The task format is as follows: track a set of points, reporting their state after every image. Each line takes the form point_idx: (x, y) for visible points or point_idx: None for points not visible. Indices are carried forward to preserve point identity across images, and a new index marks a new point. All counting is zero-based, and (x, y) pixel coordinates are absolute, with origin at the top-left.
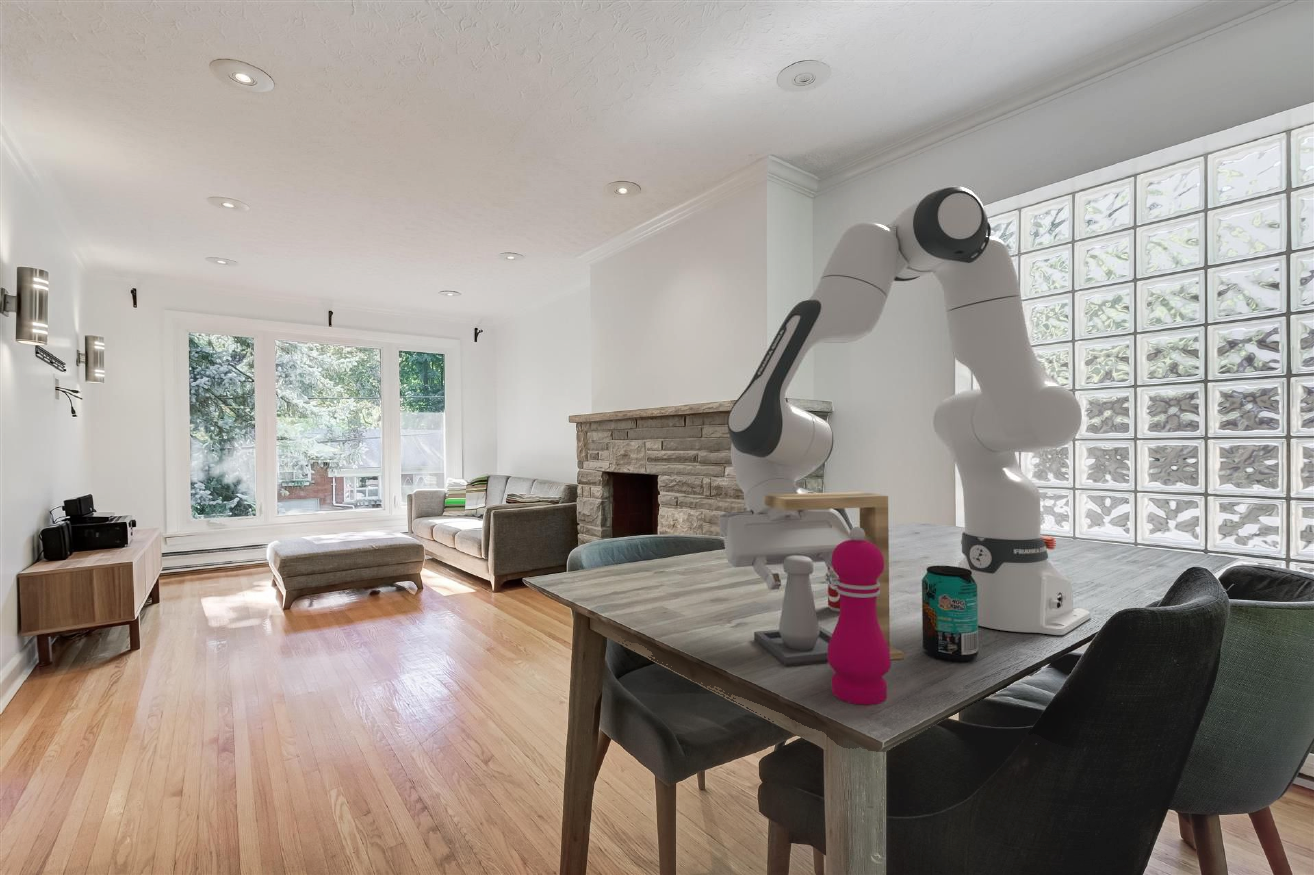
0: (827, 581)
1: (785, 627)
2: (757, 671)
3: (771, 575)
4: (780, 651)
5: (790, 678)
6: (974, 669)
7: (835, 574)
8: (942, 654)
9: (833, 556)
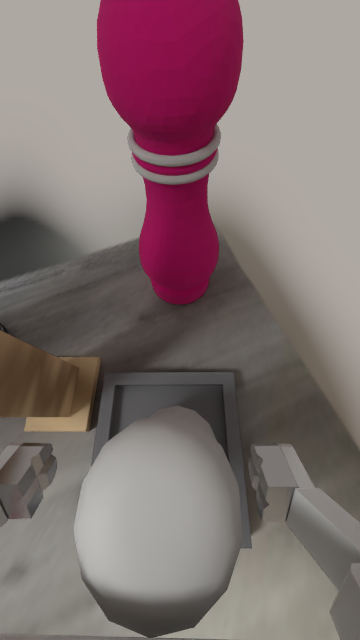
0: (45, 483)
1: (214, 438)
2: (278, 367)
3: (299, 476)
4: (233, 399)
5: (239, 334)
6: (3, 307)
7: (12, 458)
8: (6, 331)
9: (242, 41)
